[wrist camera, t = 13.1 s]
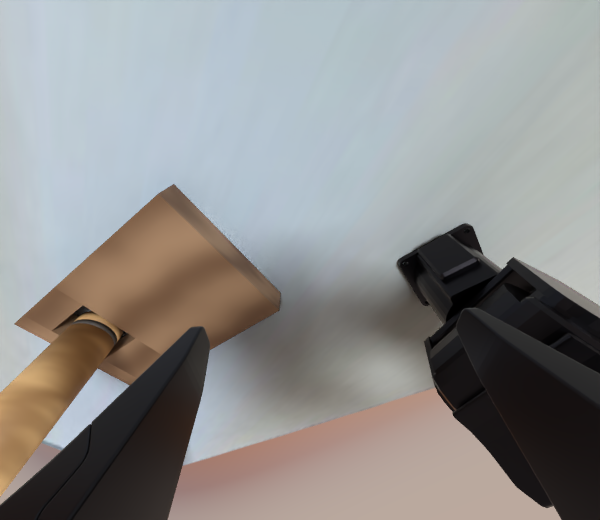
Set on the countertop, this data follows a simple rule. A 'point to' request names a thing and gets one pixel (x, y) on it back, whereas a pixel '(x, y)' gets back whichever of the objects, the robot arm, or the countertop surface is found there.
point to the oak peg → (49, 389)
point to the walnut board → (159, 286)
